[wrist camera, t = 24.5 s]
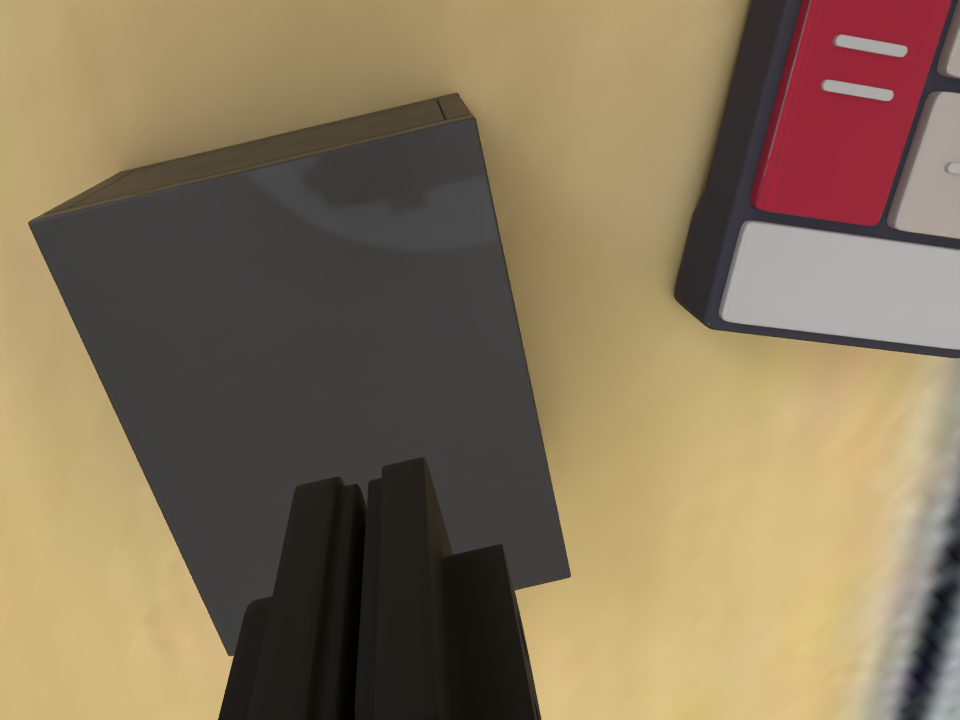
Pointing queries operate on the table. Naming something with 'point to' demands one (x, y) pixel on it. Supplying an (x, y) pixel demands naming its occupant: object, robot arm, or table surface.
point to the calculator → (836, 180)
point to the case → (271, 149)
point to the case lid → (313, 349)
